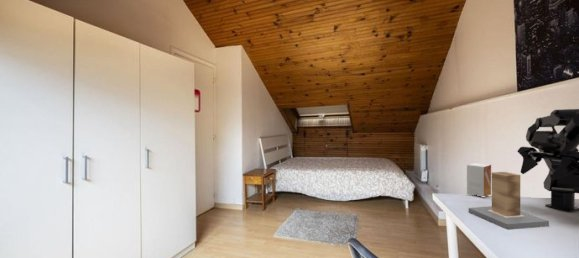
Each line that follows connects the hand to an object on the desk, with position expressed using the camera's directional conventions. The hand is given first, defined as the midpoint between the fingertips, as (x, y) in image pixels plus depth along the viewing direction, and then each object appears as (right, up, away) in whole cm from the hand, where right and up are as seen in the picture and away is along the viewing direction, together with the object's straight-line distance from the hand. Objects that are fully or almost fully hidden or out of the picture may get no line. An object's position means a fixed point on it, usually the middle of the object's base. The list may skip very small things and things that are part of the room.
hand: (536, 175), depth 81 cm
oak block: (-10, -12, 0) cm, 16 cm away
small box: (0, -13, +25) cm, 28 cm away
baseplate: (-10, -14, 0) cm, 17 cm away
